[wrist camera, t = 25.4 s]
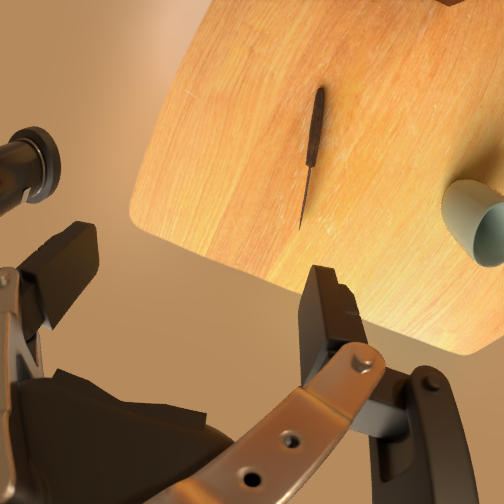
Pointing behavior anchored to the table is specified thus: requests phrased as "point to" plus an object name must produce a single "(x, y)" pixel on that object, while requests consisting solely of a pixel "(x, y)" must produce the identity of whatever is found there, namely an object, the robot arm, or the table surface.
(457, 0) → the slice
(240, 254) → the table surface
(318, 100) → the knife
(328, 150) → the table surface
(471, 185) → the cup
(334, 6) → the table surface
